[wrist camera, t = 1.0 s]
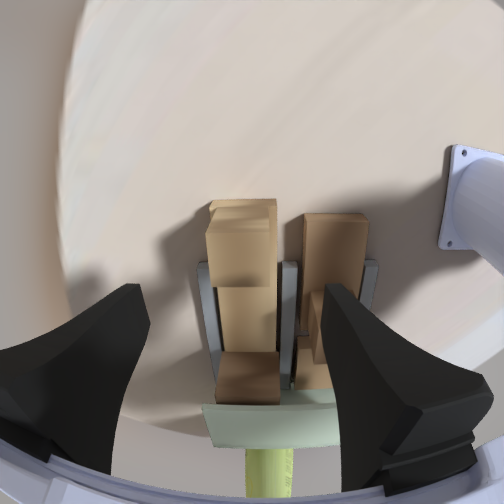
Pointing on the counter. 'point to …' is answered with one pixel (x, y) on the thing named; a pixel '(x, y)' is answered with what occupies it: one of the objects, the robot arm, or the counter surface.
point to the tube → (268, 473)
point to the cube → (248, 379)
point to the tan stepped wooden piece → (245, 271)
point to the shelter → (277, 422)
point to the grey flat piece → (304, 369)
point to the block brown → (329, 266)
